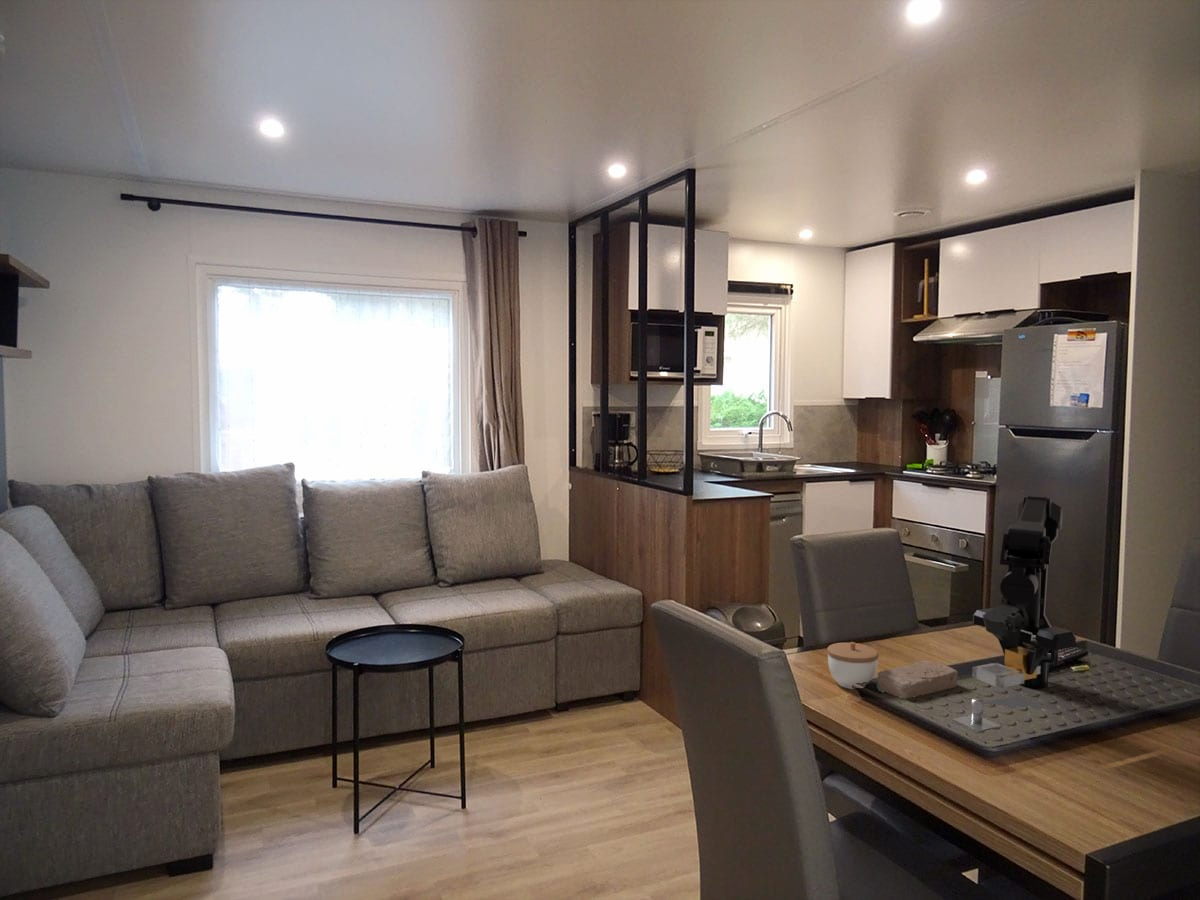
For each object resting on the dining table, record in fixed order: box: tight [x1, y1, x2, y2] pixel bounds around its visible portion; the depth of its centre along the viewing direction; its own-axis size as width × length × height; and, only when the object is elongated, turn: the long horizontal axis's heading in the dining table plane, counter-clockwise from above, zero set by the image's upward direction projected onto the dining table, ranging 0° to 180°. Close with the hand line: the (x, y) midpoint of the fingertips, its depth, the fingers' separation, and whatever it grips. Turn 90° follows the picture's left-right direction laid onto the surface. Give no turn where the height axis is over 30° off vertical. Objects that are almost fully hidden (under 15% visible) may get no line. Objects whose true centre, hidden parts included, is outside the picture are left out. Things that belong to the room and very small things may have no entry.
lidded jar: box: [827, 641, 879, 690], centre depth 176 cm, size 11×11×9 cm
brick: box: [876, 659, 958, 699], centre depth 173 cm, size 17×8×5 cm, turn 118°
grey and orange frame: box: [971, 647, 1041, 689], centre depth 155 cm, size 14×6×5 cm, turn 113°
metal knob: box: [952, 697, 1001, 732], centre depth 153 cm, size 6×6×5 cm
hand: (1020, 670), depth 156 cm, fingers closed on grey and orange frame, 4 cm apart
